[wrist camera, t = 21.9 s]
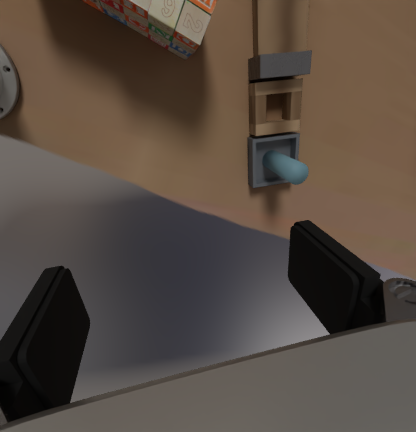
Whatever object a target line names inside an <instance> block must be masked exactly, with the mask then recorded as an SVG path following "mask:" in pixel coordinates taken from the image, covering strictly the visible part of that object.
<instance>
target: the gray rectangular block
mask: <svg viewBox="0 0 416 432" xmlns="http://www.w3.org/2000/svg"><path fill="white" fill-rule="evenodd" d="M311 54H312V50H311V51H299V52H286V53H273V54H260V55H258V56H255V57H253V58H250V59H248V71H249V80H259V79H270V78H281V77H291V76H299V75H305V74H310V67H311Z"/></svg>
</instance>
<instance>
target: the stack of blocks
mask: <svg viewBox="0 0 416 432" xmlns="http://www.w3.org/2000/svg"><path fill="white" fill-rule="evenodd" d="M82 1H83V2H85V3H87V4H88V5H90V6H92V7H94V8H95V9H97V10H99V11H101V12H102V13H106V14H107V15H109V16H111V17H112V18H114V19H116V20H118V21H119V22H121V23H123V24H125V25H127V26H129V27H130V28H132V29H134V30H135V31H137V32H139V33H141V34H142V35H144V36H146V37H148V39H150V40H152V41H153V42H155V43H157V44H159V45H160V46H162V47H164V48H166V49H167V50H169V51H170V52H172V53H174V54H175V55H177V56H179V57H181V58H182V59H184V60H186V59H187V58H188V57H189V56H190V55H191V54H193V53H194V52H195V51H196V50H197V48H198V47H199V46H200V44H201V41H202V39H203V36H204V34H205V31H206V29H207V26H208V23H209V21H210V18H211V14H212V12H213V10H214V8H215V5H216V2H217V0H82Z"/></svg>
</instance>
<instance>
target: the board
mask: <svg viewBox="0 0 416 432" xmlns="http://www.w3.org/2000/svg"><path fill="white" fill-rule="evenodd" d="M252 9H253V53H254V57H255V56H258V55H260V54H273V53H286V52H299V51H307V33H308V15H309V0H252Z"/></svg>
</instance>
